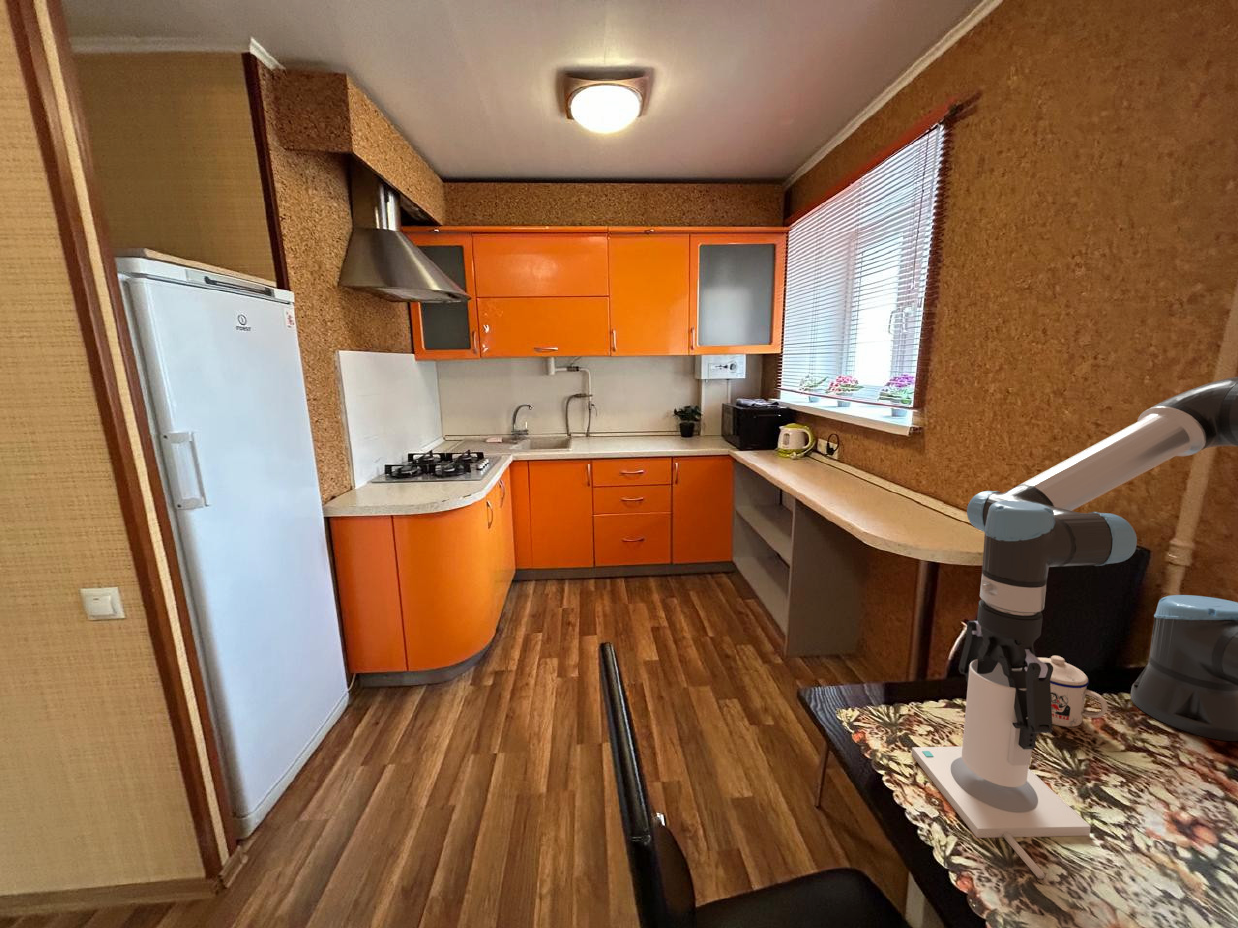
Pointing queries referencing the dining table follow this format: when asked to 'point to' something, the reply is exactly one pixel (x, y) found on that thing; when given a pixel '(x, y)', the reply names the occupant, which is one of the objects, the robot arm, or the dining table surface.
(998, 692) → the cup
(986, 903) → the dining table surface
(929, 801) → the dining table surface
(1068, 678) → the teacup with lid
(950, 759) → the pad
